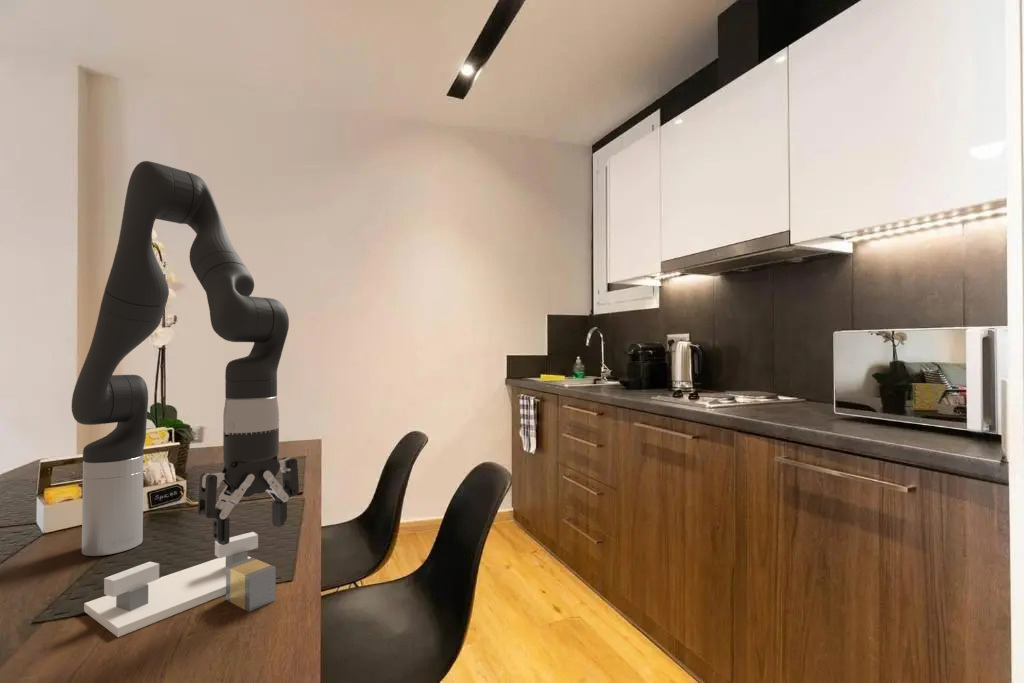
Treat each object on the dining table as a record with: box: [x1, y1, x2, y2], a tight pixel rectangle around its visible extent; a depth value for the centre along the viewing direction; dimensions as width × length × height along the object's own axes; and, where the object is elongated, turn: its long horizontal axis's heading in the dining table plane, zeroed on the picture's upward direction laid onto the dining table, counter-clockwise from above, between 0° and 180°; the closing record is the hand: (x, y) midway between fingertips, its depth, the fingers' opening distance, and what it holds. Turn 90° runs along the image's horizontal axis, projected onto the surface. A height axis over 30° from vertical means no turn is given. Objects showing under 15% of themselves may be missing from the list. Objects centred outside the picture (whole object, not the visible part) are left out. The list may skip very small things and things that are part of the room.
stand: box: [83, 531, 259, 638], centre depth 78 cm, size 12×22×6 cm, turn 147°
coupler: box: [225, 557, 277, 613], centre depth 76 cm, size 4×6×5 cm, turn 57°
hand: (251, 534), depth 76 cm, fingers open, 8 cm apart
